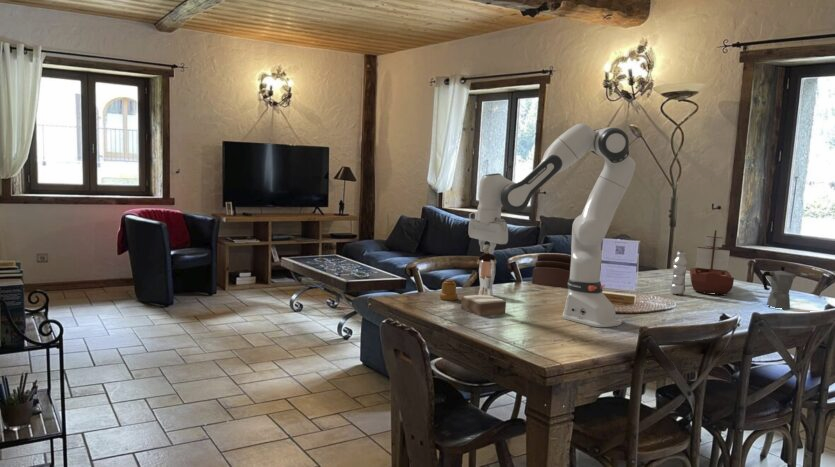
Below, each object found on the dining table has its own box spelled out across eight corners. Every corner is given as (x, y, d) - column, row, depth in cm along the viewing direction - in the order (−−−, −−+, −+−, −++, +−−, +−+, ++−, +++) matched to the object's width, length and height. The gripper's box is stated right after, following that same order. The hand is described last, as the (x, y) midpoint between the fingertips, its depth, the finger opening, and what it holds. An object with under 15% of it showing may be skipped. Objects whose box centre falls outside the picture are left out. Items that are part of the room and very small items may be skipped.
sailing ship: (690, 294, 298) (696, 231, 295) (688, 280, 335) (693, 224, 332) (732, 299, 292) (739, 235, 288) (725, 284, 329) (731, 227, 325)
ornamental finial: (447, 301, 259) (435, 298, 265) (461, 300, 263) (449, 296, 269) (448, 282, 258) (436, 278, 264) (462, 280, 262) (450, 277, 268)
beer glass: (493, 297, 271) (495, 262, 269) (476, 295, 272) (478, 260, 271) (494, 293, 278) (496, 259, 276) (478, 292, 279) (480, 258, 277)
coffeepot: (786, 305, 283) (791, 265, 281) (799, 310, 274) (804, 269, 272) (752, 304, 283) (756, 263, 281) (764, 309, 273) (769, 267, 271)
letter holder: (535, 280, 314) (538, 252, 313) (577, 285, 307) (579, 256, 305) (531, 284, 305) (533, 254, 304) (573, 289, 298) (576, 259, 296)
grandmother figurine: (480, 278, 241) (480, 245, 239) (475, 277, 244) (476, 244, 243) (498, 277, 244) (498, 244, 242) (493, 276, 247) (494, 243, 246)
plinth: (505, 313, 244) (506, 300, 243) (479, 316, 238) (480, 302, 237) (485, 306, 254) (486, 293, 253) (461, 308, 248) (461, 296, 247)
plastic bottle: (685, 294, 297) (690, 251, 295) (683, 296, 291) (687, 253, 289) (671, 292, 301) (675, 250, 298) (668, 294, 295) (672, 251, 292)
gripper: (513, 219, 234) (511, 256, 236) (479, 213, 252) (477, 248, 253) (499, 219, 231) (497, 257, 233) (466, 213, 248) (464, 249, 250)
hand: (486, 252), depth 243 cm, fingers closed on grandmother figurine, 3 cm apart
